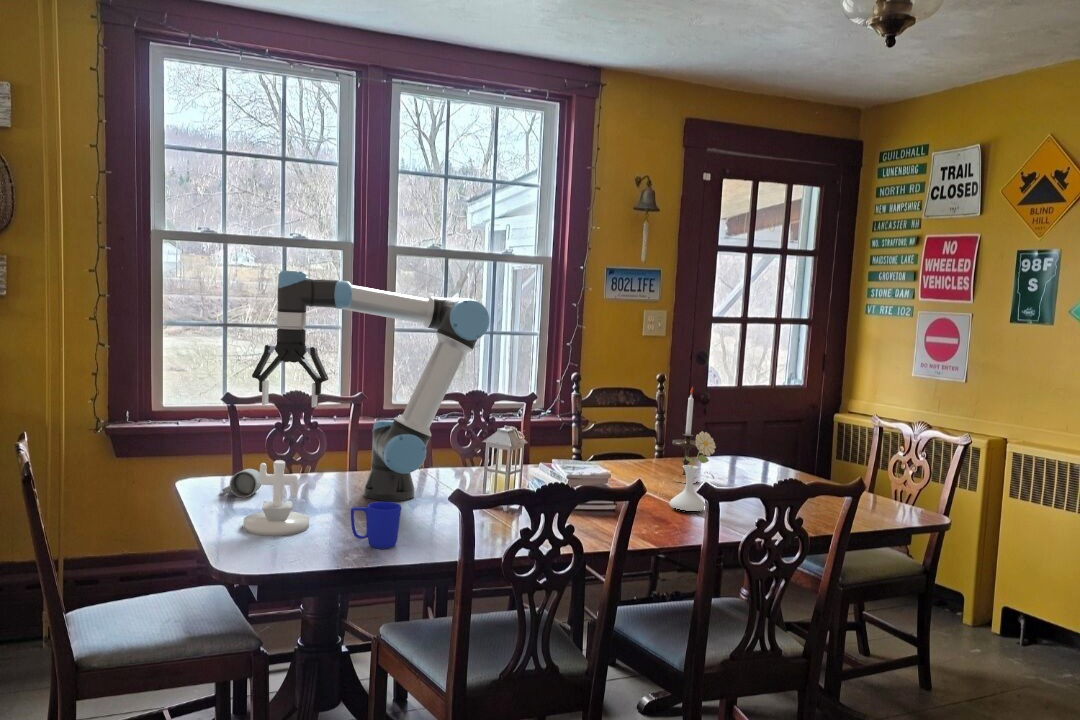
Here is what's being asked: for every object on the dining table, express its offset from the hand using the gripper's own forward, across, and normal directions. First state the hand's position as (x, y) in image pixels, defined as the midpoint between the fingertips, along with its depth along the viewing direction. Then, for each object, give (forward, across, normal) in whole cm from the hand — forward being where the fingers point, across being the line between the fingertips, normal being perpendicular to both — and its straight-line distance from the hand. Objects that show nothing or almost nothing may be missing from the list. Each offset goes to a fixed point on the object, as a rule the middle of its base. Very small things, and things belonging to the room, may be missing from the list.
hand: (289, 405), depth 227 cm
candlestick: (+32, -120, -77) cm, 146 cm away
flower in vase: (+32, -116, -33) cm, 124 cm away
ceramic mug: (+29, +18, -13) cm, 37 cm away
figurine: (+27, -3, +16) cm, 32 cm away
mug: (+30, -30, +26) cm, 50 cm away
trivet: (+29, -3, +16) cm, 33 cm away
